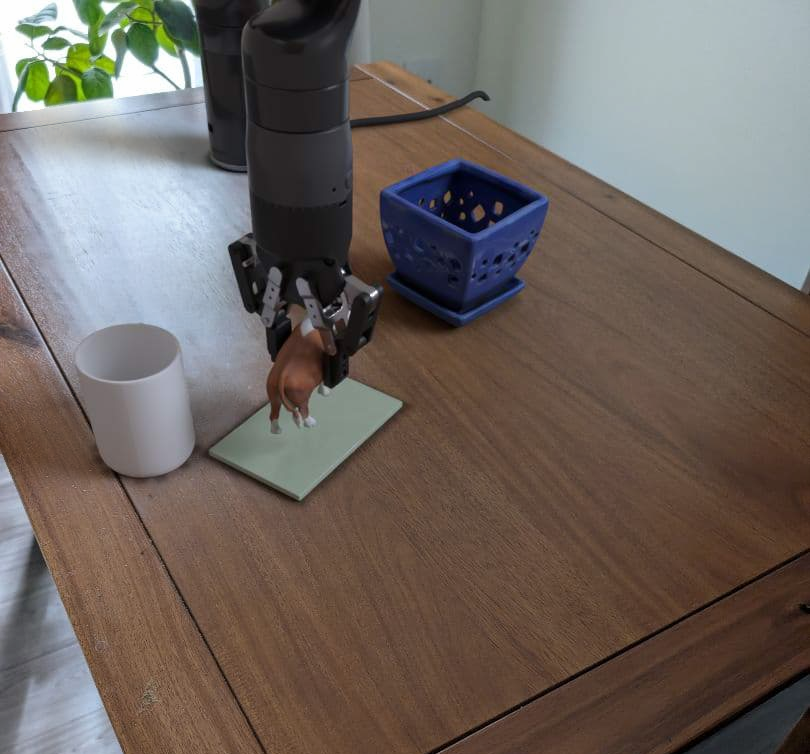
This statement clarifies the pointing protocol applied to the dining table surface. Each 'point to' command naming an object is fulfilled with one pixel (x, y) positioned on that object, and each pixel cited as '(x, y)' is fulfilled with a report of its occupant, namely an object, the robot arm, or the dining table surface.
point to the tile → (306, 438)
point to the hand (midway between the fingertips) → (308, 370)
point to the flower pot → (459, 238)
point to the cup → (136, 398)
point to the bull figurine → (297, 375)
